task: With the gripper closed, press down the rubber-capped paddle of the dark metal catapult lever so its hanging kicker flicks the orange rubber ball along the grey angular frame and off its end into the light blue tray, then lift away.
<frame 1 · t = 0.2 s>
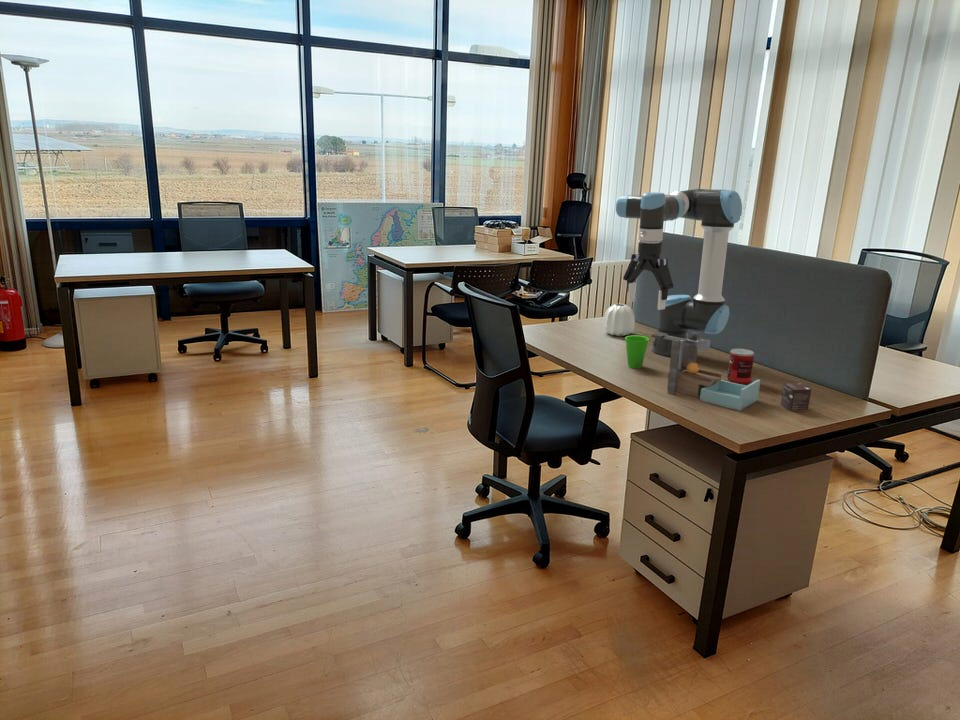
hand: (645, 305, 228), 29 cm above the table, fingers open, 13 cm apart
light blue tray: (728, 400, 223), on the table
box: (794, 408, 217), on the table
vase: (618, 334, 306), on the table
grey angular frame: (691, 391, 232), on the table
lever: (679, 352, 232), point 13 cm above the table, hinge at 0.0°
canned food: (738, 381, 243), on the table
ball: (692, 374, 230), point 6 cm above the table, touching grey angular frame
cup: (635, 366, 259), on the table
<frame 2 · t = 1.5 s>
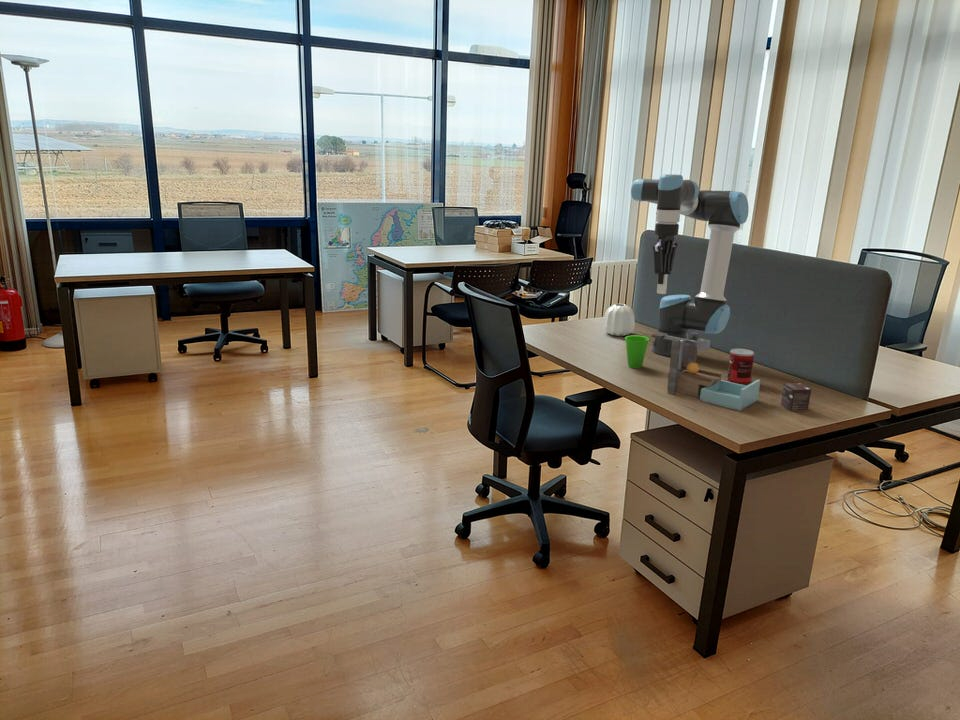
hand: (661, 293, 232), 32 cm above the table, fingers closed
nothing on the table moved.
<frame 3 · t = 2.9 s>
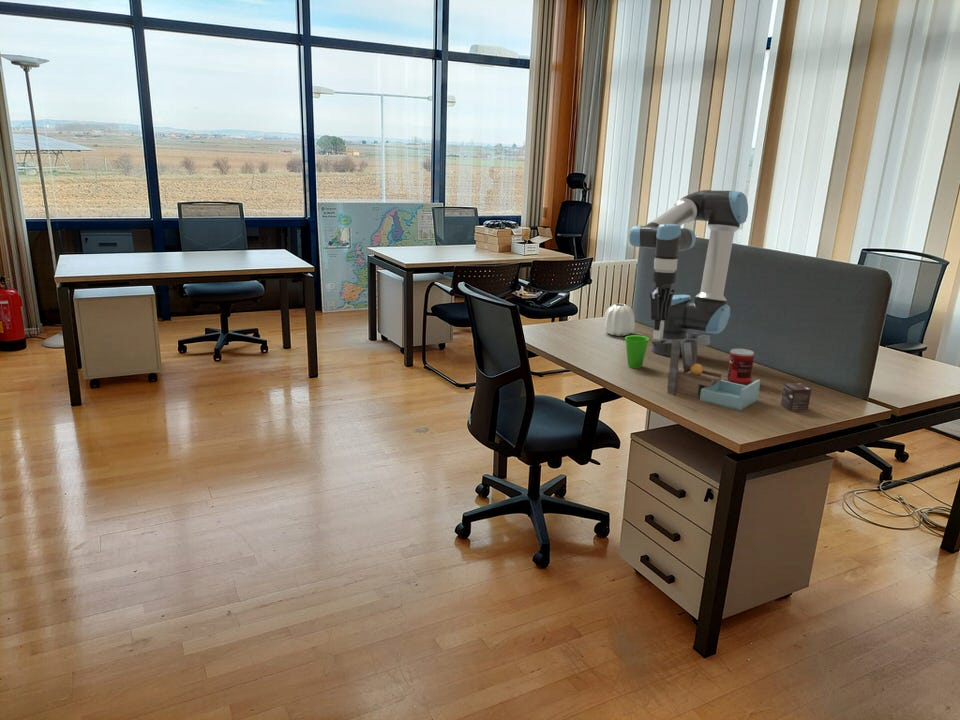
hand: (657, 338, 236), 16 cm above the table, fingers closed, pressing on lever
lever: (682, 353, 231), point 12 cm above the table, hinge at 12.6°, touching gripper
ball: (696, 375, 229), point 6 cm above the table, tilted 7°, touching grey angular frame
everything else where it was.
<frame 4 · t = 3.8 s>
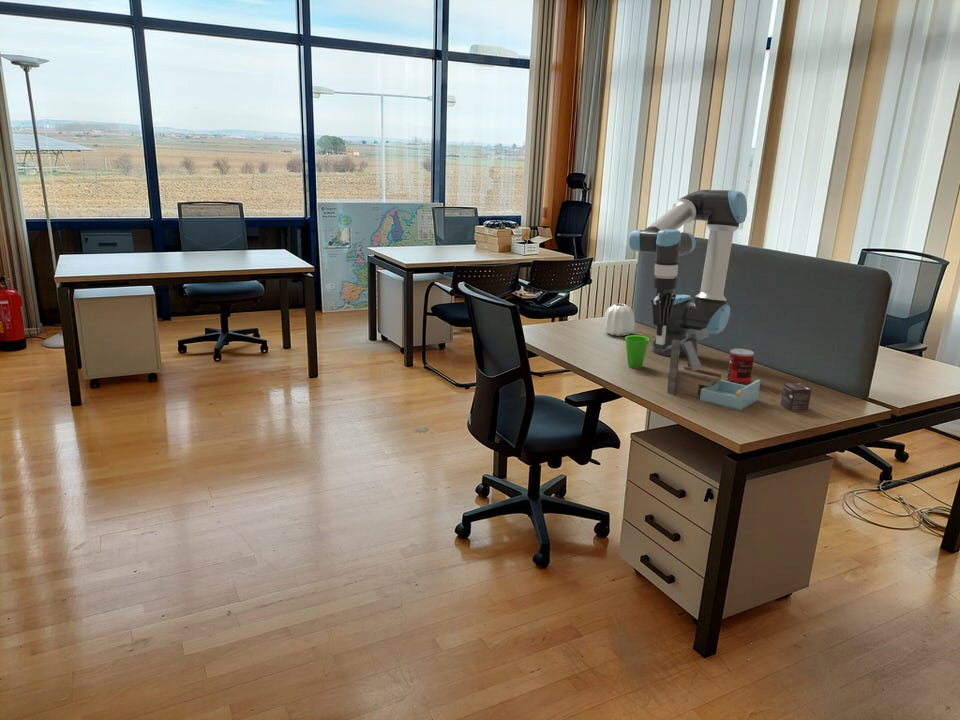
hand: (660, 343, 236), 14 cm above the table, fingers closed
lever: (686, 354, 230), point 12 cm above the table, hinge at 30.1°
ball: (736, 391, 221), point 4 cm above the table, tilted 123°, touching light blue tray
everything else where it was.
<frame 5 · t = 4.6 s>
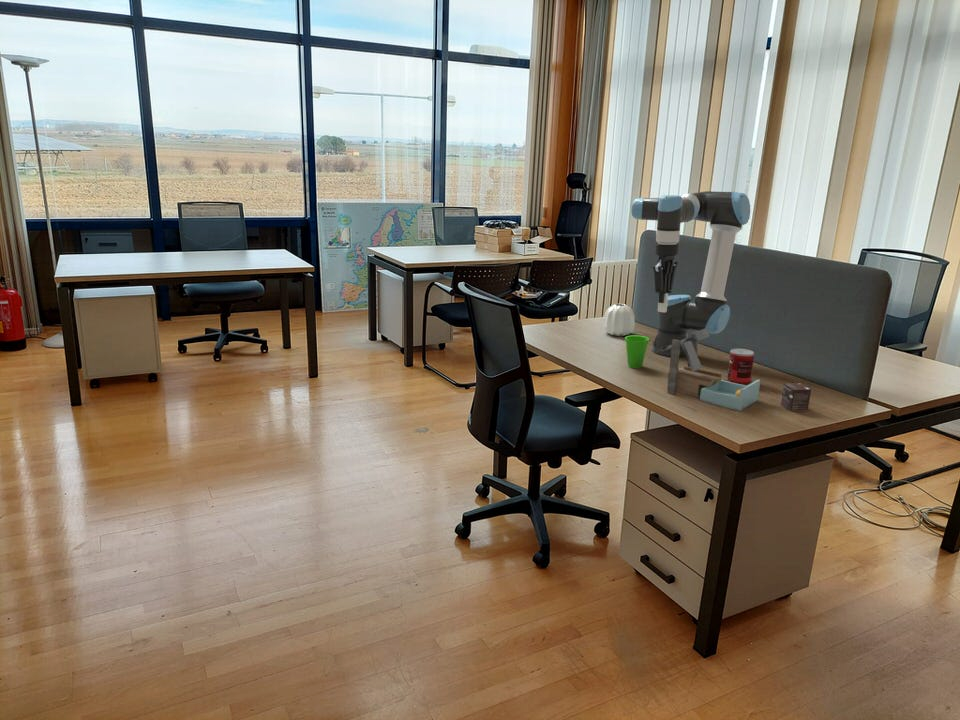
hand: (662, 311, 235), 25 cm above the table, fingers closed
nothing on the table moved.
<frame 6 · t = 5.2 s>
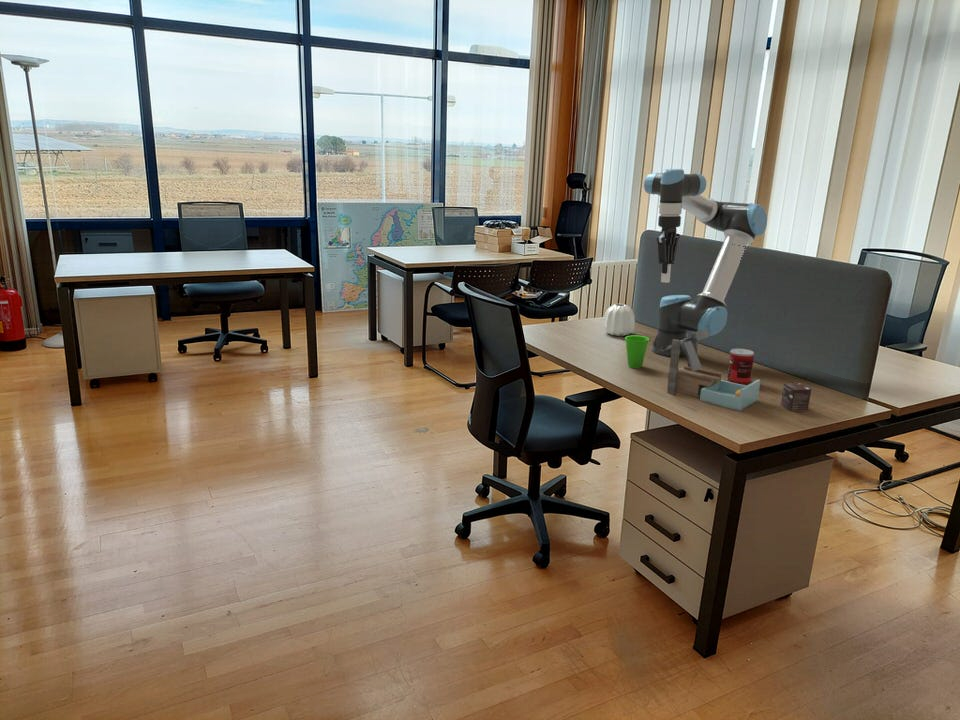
hand: (665, 282, 244), 33 cm above the table, fingers closed
nothing on the table moved.
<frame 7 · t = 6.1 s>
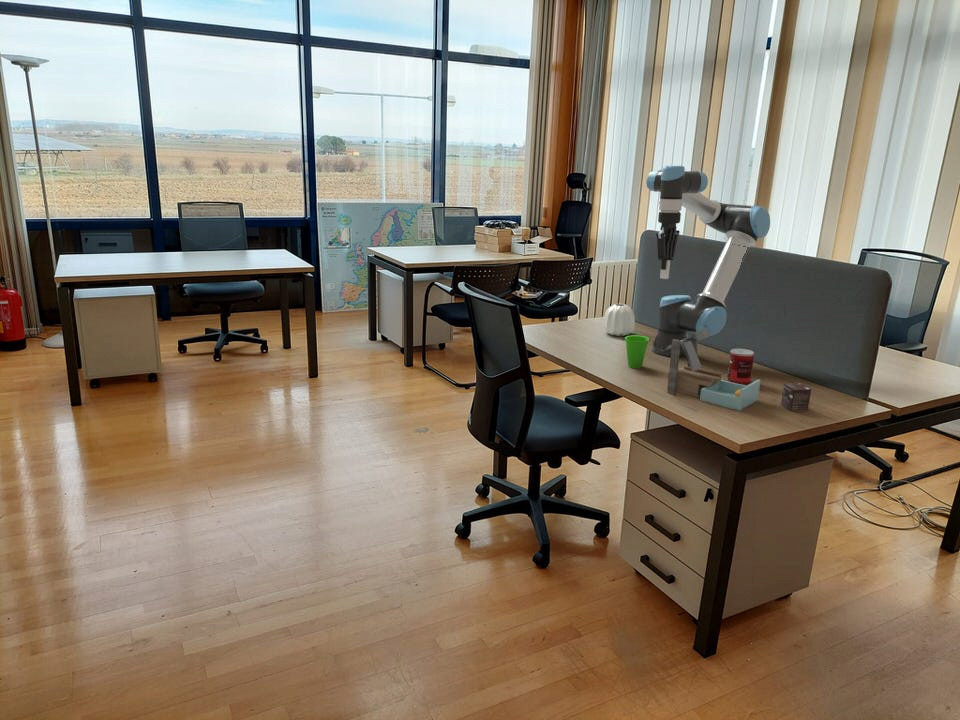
hand: (664, 278, 245), 34 cm above the table, fingers closed
nothing on the table moved.
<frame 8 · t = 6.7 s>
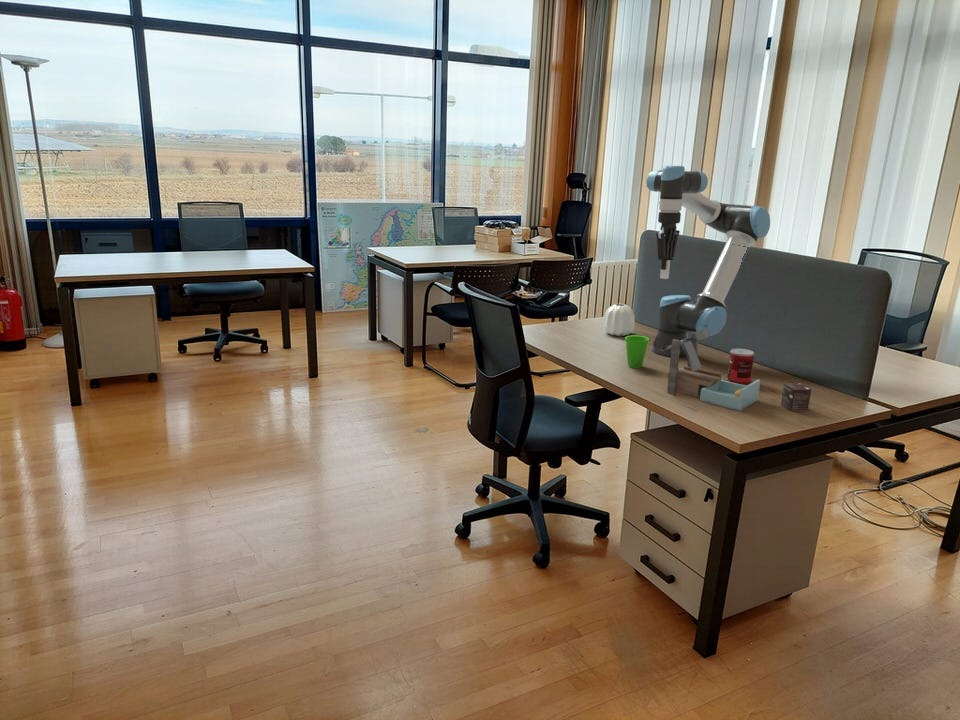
hand: (664, 278, 245), 34 cm above the table, fingers closed
nothing on the table moved.
at the end: ball inside the target area on the light blue tray (1.9 cm from its centre), point 3.5 cm above the light blue tray's base; lever at +30° (first picture: +0°) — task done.
